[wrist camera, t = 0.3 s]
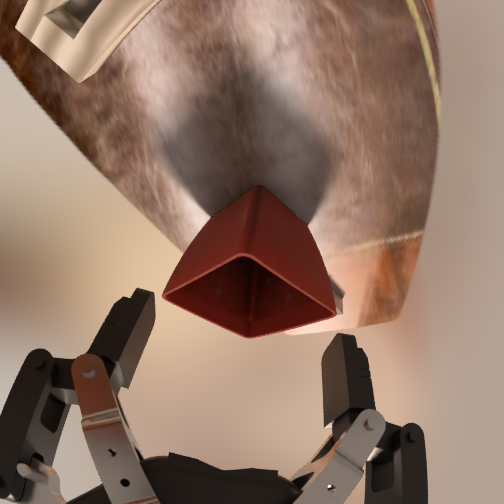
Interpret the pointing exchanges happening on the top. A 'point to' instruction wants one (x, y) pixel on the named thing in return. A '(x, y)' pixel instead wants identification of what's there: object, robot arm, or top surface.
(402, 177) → the top surface
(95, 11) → the well block
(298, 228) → the plant pot
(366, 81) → the top surface
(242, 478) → the robot arm
